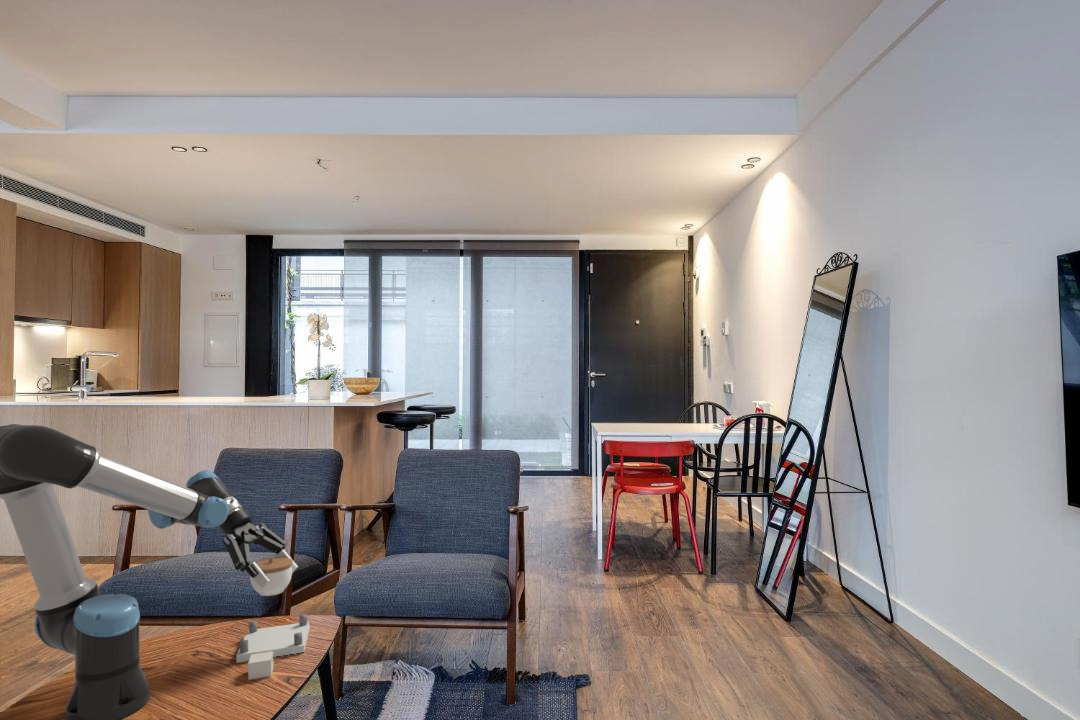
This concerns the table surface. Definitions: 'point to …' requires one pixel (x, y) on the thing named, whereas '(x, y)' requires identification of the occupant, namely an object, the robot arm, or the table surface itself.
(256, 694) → the table surface
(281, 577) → the lidded jar
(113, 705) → the robot arm
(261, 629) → the grey stand
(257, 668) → the plain off-white block
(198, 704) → the table surface
